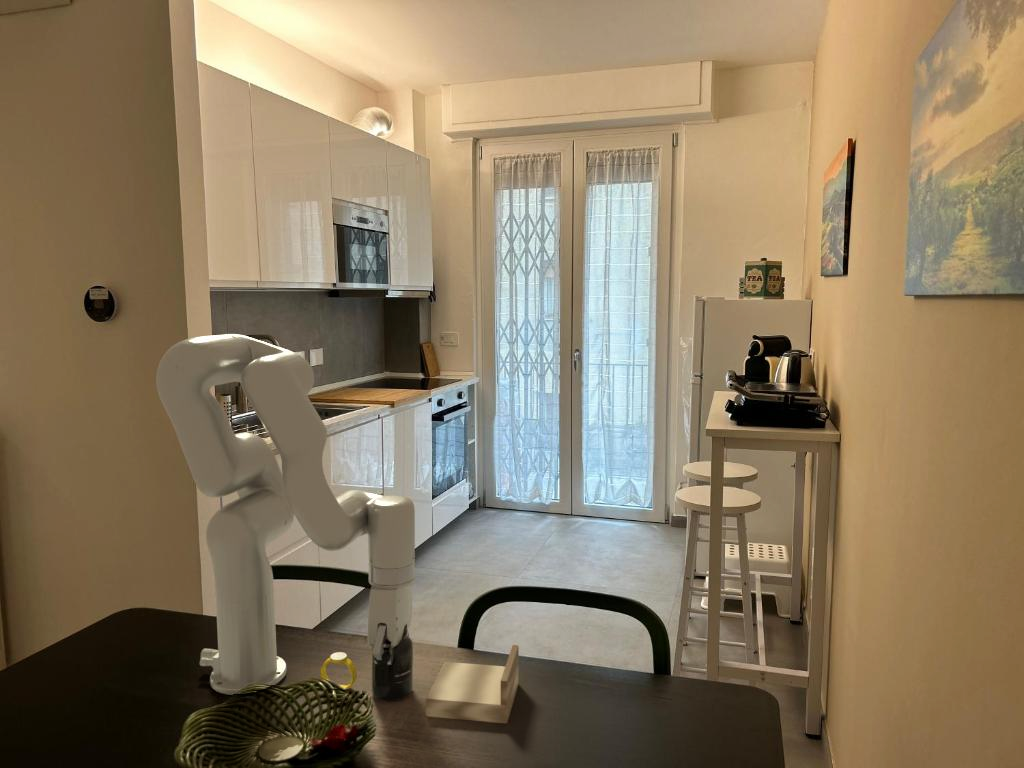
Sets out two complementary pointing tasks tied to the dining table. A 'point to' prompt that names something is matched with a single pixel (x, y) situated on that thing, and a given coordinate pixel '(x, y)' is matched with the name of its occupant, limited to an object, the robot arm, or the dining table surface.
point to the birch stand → (475, 691)
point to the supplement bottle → (397, 671)
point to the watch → (340, 658)
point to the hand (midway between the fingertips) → (392, 672)
